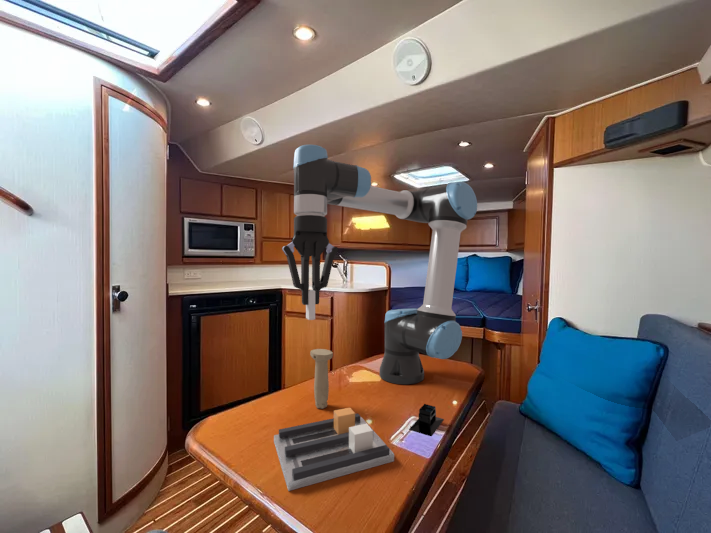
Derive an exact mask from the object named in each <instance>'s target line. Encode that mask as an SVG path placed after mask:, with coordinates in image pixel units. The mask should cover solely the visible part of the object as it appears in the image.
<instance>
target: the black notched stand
mask: <svg viewBox="0 0 711 533" xmlns="http://www.w3.org/2000/svg"><path fill="white" fill-rule="evenodd" d="M436 407H437V406H434V405H430V404H427V403H424V404H423V405H422V406H421V407H420V408H419V410H418V419H416V421H415V422H414V423H413V424H412V425H411V426H410V427H409V429H408V430H409V431H412V432H415V433H418V434H422V435H425V436H428V437H432V436H434V435H435V433H436V431H437V430H438V429H439V427H440V426H441V424H442V423H443V422H444V420H445V419H444V418H441V417H437V410H436Z"/></svg>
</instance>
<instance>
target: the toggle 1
mask: <svg viewBox="0 0 711 533" xmlns="http://www.w3.org/2000/svg"><path fill="white" fill-rule="evenodd" d="M355 414H356V412H355V411H354V410H353V409H352V408H351V407H346V408H340V409H335V410H333V418H334V429H335V431H336V432H337V434H338V435H339V434H343V433H348V432H349V427H353V426H355Z"/></svg>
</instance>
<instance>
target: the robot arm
mask: <svg viewBox="0 0 711 533" xmlns="http://www.w3.org/2000/svg"><path fill="white" fill-rule="evenodd" d="M292 169H293V214H294V215H296V216H295V217H294V218H293V236H292V238H291V242H290V243H288V244H287V245H284V246H282V247H281V250H282V253H283V254H284V255H285V257H286V260H287V264H288V268H289V273H290V275H291V279H292V280H291V281H292V284H293V287H294V288H296V289H299V290H300V291H301V304H302V306H303V305H304V306H305V319H306V320H308V321H313V320H316V305H319V303H320V291H321V289H324V288H327V287H328V284H329V280H330V275H331V271H332V268H333V262H334V259H335V258H334V257H335V256H336V254H337V253H338V251H339V248H338V246H334V245H332V244H331V243H330V241H329V240H330V239H329V238H328V219H327V217H326V216H327V215H328V205H332V206H334V205H335V206H339V207H346V208H350V209H351V208H352V209H357V210H364V211H369V212H376V213H383V214H388V215H394V216H396V218H398V219H400V220H407V221H412V222H417V223H423V224H428V226H429V227H430V228H431V230H432V233H431V241H430V248H429V256H428V264H427V272H426V277H425V278H426V280H425V287H424V293H423V294H424V295H423V304H421V306H420V307H418V308H398V309H390V310H387V311H386V313H385V316H384V354H383V357H382V360H381V363H380V367H379V377H380V378H381V380H383V381H385V382H387V383H392V384H396V385H413V384H414V385H415V384H418V383H421V382H423V381H424V379H425V370H424V366H423V364H422V361H421V360H422V359H421V357H420V354H423V355H425V356H428V357H430V358H435V359H440V360H446V359H449V358H451V357H452V356H453V355H454V354H455V353H456V352H457V351H458V350H459V347H460V345H461V343H462V339H463V331H462V329H461V328H462V326H461V325H460V324H459V322H457V321H456V319H457V317H456V316H457V315H456V313H455V311H453V309H452V308H453V307H452V306H453V297H454V289H455V281H456V274H457V267H458V257H459V250H460V241H461V234H462V232H463V231H464V230H466V229H467V227H468V226H467V225H468V220H471V219H472V218H474V217H475V215H476V213H477V211H478V201H477V197H476V196H477V195H476V194H475V192H474V189H473V187H471V186H470V184H468V182H464V181H456V182H449V183H446V184H442V185H441V184H440V185H438V186H434V187H433V186H432V187H430V188H423V189H420V190H419V189H418V190H407V189H405V190H404V189H403V190H401V191H397V190H391V189H387V188H383V187H378V186H374V185H372V175H371V173H370V171H369V170H368V169H367V168H365V167H361V166H359V165H358V164H357V165H356V164H355V165H353V164H350V163H349V164H348V163H344V162H339V161H334V160H332V159H329V156H328V151H327V149H326V148H325V147H323V146H320V145H317V144H303V145H300V146H299V147H297V148H296V149H295V150H294V156H293V166H292ZM325 249H326V250H325ZM295 250H296V251H297V252H298V254H299V255H300V261H301V262H300V263H301V264H300V267H301V268H300V274H299V270H298V266H297V262H296V259H295V255H294V252H295ZM324 251H325V252H326V255H325V257H324V263H323V267H322V270H321V258H322V257H321V255H322V254H323V252H324ZM310 257H311V258H310ZM310 260H311V289H310Z"/></svg>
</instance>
